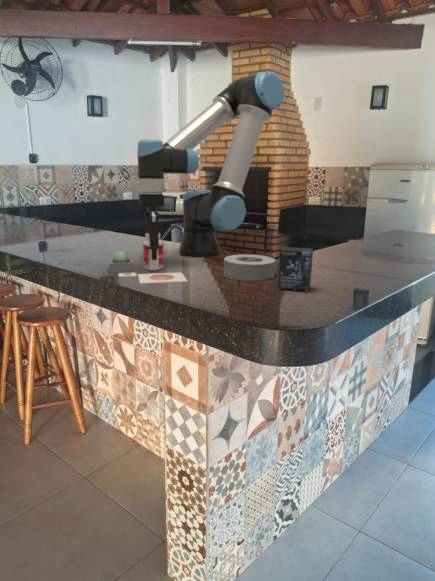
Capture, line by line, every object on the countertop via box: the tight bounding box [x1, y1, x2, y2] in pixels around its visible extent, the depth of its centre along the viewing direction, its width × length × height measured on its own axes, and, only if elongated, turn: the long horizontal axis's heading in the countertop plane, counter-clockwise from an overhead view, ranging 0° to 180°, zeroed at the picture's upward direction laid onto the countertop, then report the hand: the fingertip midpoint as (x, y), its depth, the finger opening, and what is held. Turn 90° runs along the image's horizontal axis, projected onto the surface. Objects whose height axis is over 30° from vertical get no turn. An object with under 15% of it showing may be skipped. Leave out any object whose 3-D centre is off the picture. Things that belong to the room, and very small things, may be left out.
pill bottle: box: [142, 232, 164, 271], centre depth 139 cm, size 6×6×11 cm
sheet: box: [137, 272, 188, 285], centre depth 126 cm, size 13×11×1 cm
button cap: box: [113, 250, 129, 263], centre depth 135 cm, size 4×4×4 cm
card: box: [118, 272, 137, 278], centre depth 130 cm, size 5×4×1 cm
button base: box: [108, 258, 135, 274], centre depth 135 cm, size 7×7×3 cm
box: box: [277, 246, 314, 291], centre depth 115 cm, size 8×6×11 cm
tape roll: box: [223, 254, 276, 282], centre depth 131 cm, size 15×15×5 cm
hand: (153, 267), depth 140 cm, fingers open, 7 cm apart
